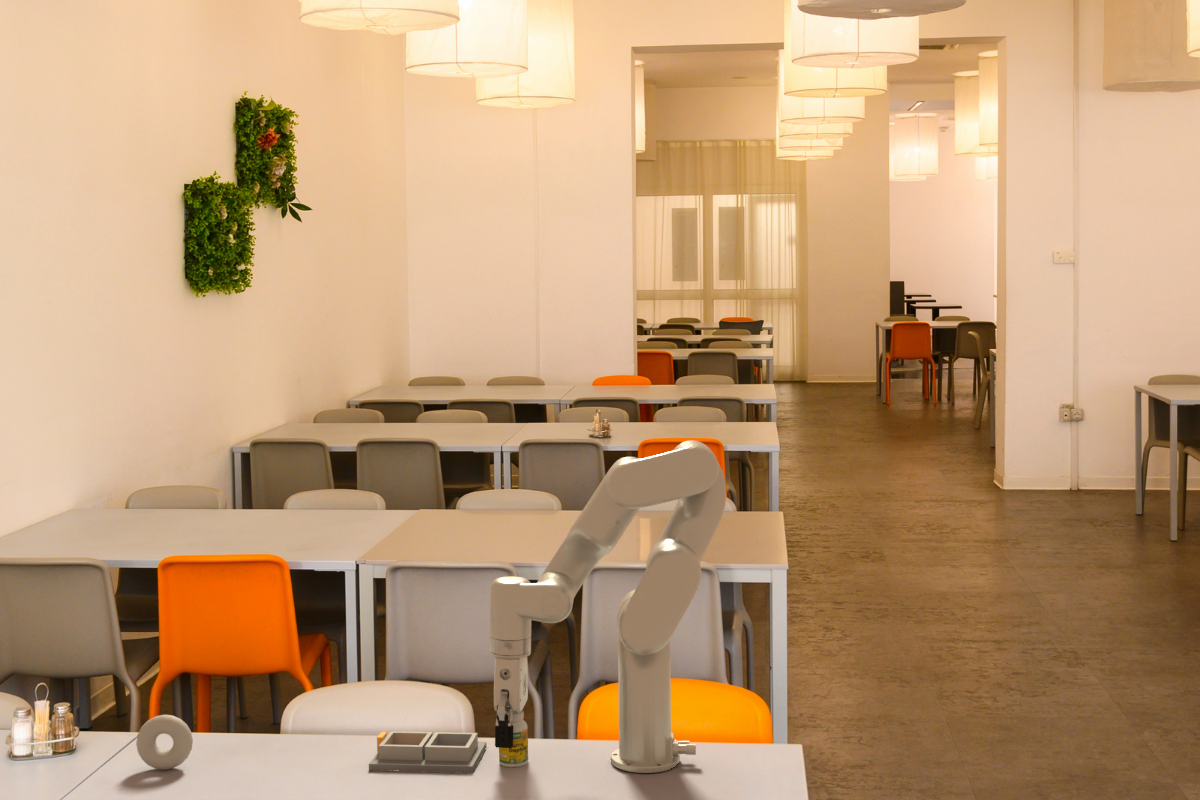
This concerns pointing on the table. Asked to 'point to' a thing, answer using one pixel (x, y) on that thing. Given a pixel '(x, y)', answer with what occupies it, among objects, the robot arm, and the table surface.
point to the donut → (150, 749)
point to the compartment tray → (427, 751)
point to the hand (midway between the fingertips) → (508, 738)
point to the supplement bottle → (516, 743)
